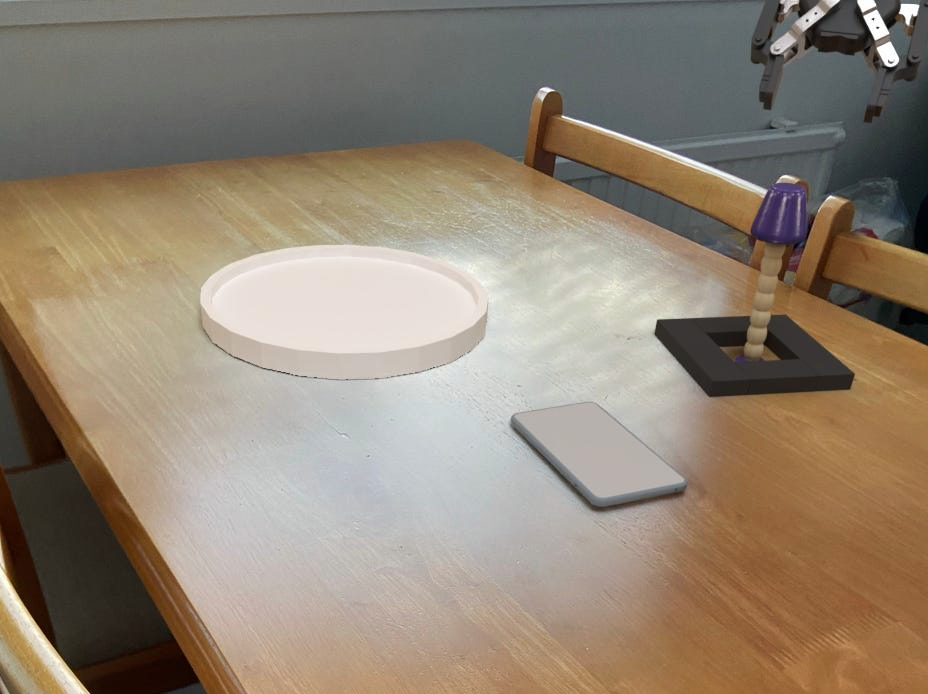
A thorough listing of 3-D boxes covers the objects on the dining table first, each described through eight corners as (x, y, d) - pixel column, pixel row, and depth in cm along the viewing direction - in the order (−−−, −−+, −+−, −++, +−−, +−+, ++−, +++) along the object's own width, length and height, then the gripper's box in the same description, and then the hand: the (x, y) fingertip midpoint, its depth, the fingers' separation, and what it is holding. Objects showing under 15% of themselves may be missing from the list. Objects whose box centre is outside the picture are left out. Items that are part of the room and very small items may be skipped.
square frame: (778, 343, 100) (786, 314, 98) (845, 405, 90) (855, 373, 88) (651, 349, 97) (656, 319, 96) (705, 413, 87) (713, 381, 86)
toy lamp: (718, 383, 92) (763, 191, 82) (717, 362, 96) (759, 176, 85) (771, 389, 92) (823, 197, 81) (768, 368, 95) (817, 181, 85)
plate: (143, 311, 99) (140, 286, 97) (353, 249, 115) (353, 227, 114) (336, 410, 85) (336, 383, 83) (544, 323, 101) (547, 299, 99)
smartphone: (594, 399, 86) (693, 482, 76) (593, 409, 87) (690, 493, 76) (507, 413, 84) (596, 501, 73) (506, 424, 84) (594, 513, 74)
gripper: (789, -103, 86) (736, 71, 85) (966, -91, 82) (912, 92, 81) (783, -34, 93) (733, 127, 92) (945, -20, 89) (896, 148, 88)
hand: (817, 110), depth 87 cm, fingers open, 8 cm apart
